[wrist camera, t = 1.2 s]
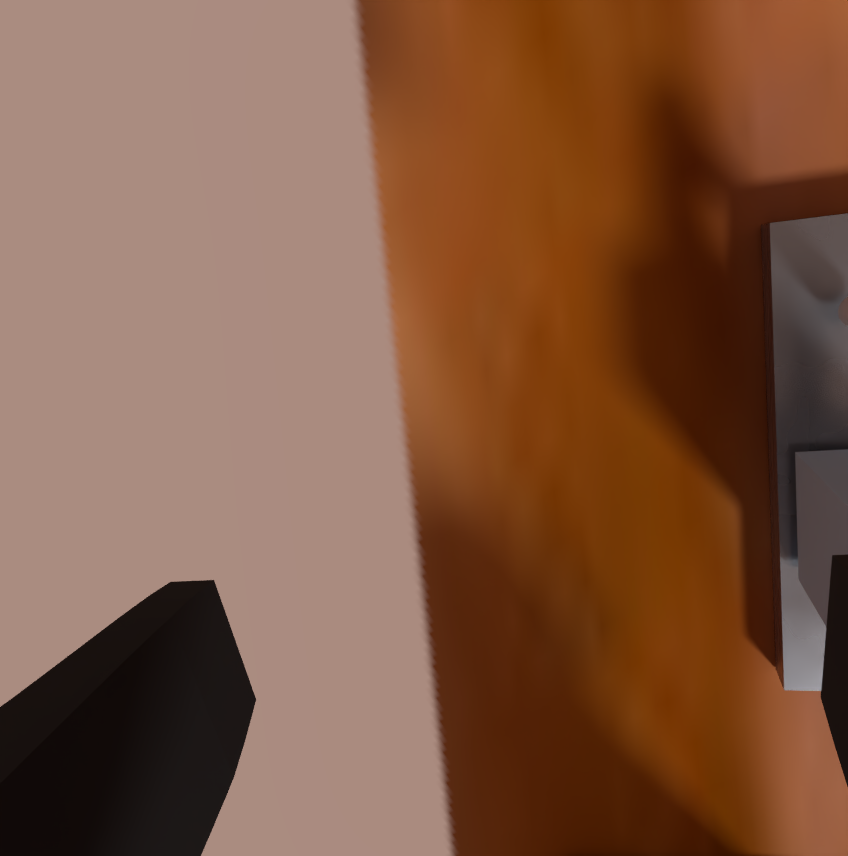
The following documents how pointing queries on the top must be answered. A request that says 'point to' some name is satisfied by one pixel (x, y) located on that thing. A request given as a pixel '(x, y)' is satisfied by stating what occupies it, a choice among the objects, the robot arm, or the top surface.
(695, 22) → the top surface
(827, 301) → the bolt plate
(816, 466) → the sliding leg
